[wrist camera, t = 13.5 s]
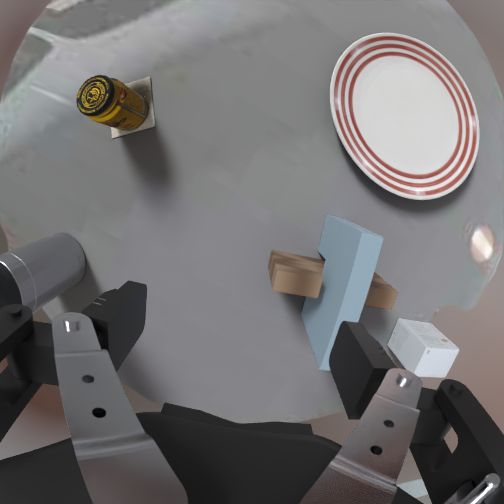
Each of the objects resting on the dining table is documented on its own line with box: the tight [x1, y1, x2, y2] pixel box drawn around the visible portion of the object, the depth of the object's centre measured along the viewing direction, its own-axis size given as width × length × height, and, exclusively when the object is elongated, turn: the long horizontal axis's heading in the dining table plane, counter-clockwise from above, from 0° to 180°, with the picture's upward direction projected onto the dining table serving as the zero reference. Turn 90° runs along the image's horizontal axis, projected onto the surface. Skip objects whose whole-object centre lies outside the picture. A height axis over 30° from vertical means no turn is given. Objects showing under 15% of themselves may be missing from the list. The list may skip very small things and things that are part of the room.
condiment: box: [77, 75, 155, 138], centre depth 33 cm, size 7×8×12 cm
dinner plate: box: [330, 33, 479, 200], centre depth 37 cm, size 27×27×3 cm
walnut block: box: [268, 250, 398, 310], centre depth 40 cm, size 16×2×10 cm, turn 79°
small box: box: [387, 318, 459, 377], centre depth 42 cm, size 8×6×10 cm
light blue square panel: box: [301, 214, 384, 371], centre depth 37 cm, size 2×16×15 cm, turn 169°
